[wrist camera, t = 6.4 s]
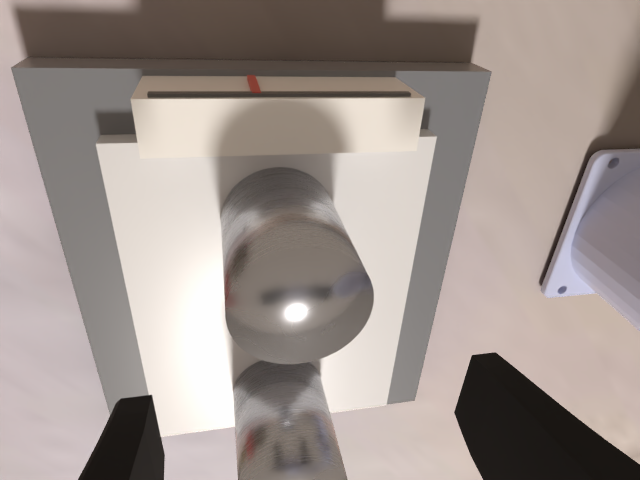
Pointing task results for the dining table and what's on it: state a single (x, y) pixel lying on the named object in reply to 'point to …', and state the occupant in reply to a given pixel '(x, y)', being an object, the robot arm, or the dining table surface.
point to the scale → (210, 194)
